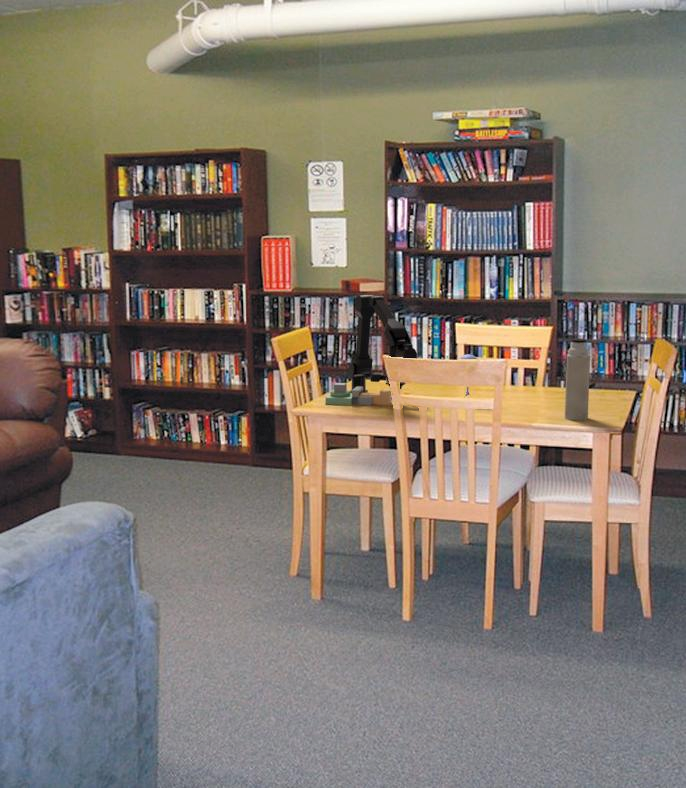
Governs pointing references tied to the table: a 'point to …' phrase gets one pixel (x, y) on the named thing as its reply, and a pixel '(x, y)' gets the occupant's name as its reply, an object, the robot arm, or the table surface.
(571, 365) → the thermos bottle
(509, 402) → the table surface
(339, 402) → the deck
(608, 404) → the table surface
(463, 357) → the baby rattle
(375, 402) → the chute
